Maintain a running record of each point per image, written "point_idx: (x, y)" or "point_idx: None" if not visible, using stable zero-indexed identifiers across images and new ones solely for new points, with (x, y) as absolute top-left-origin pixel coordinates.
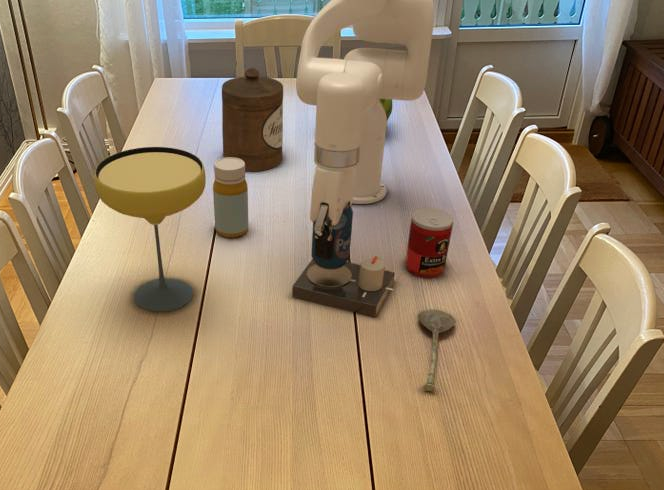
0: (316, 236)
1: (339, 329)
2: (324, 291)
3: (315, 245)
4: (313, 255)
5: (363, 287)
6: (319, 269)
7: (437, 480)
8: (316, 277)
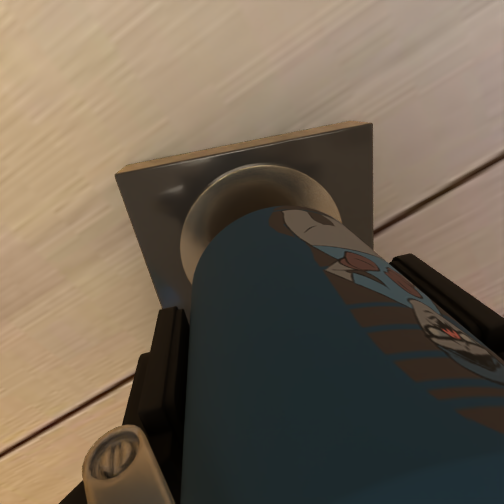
0: (89, 469)
1: (95, 355)
2: (166, 285)
3: (149, 355)
4: (204, 260)
5: None
6: (273, 204)
7: None
8: (217, 225)
